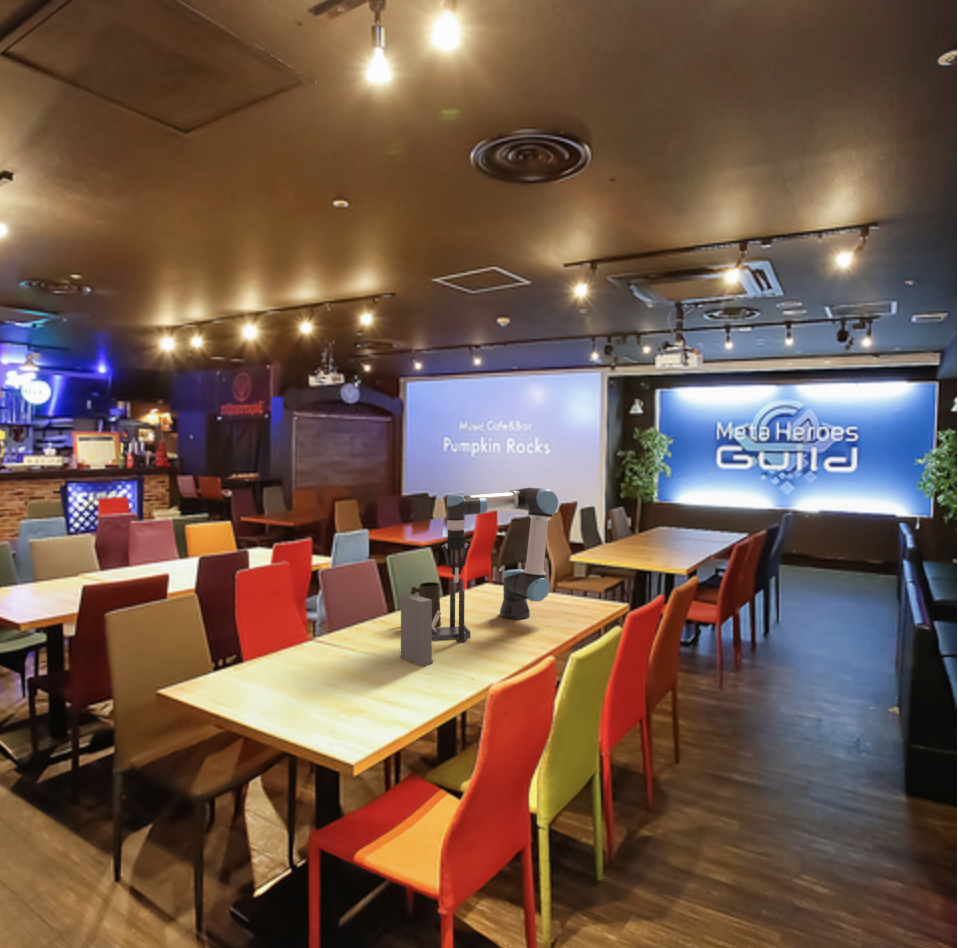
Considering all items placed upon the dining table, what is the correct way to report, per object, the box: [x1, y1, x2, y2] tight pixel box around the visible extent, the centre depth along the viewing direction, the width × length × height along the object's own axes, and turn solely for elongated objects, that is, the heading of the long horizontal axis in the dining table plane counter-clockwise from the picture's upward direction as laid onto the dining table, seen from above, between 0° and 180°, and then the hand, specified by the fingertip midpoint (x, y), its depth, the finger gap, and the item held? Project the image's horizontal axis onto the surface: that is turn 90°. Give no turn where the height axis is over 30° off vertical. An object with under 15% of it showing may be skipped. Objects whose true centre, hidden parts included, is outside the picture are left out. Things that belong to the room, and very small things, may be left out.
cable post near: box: [455, 589, 467, 644], centre depth 280 cm, size 4×4×22 cm
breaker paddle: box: [432, 610, 442, 630], centre depth 292 cm, size 2×4×8 cm, turn 15°
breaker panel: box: [432, 624, 471, 641], centre depth 288 cm, size 24×12×3 cm, turn 105°
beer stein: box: [409, 581, 442, 628], centre depth 305 cm, size 15×11×20 cm
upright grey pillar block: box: [399, 593, 434, 667], centre depth 254 cm, size 14×6×25 cm, turn 41°
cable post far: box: [449, 581, 456, 627], centre depth 297 cm, size 4×4×22 cm
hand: (456, 581), depth 288 cm, fingers closed
